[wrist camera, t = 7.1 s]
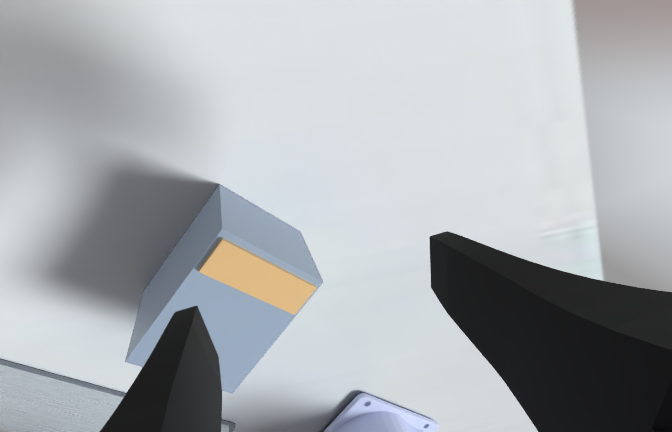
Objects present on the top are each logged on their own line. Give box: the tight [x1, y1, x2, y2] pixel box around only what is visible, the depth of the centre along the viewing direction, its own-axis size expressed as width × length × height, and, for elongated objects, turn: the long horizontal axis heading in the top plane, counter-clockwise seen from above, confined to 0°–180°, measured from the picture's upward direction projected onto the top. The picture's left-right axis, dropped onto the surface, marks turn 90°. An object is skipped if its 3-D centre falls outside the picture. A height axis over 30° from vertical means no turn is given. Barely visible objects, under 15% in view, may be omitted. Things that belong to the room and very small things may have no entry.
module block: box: [125, 184, 323, 393], centre depth 18 cm, size 5×7×5 cm
